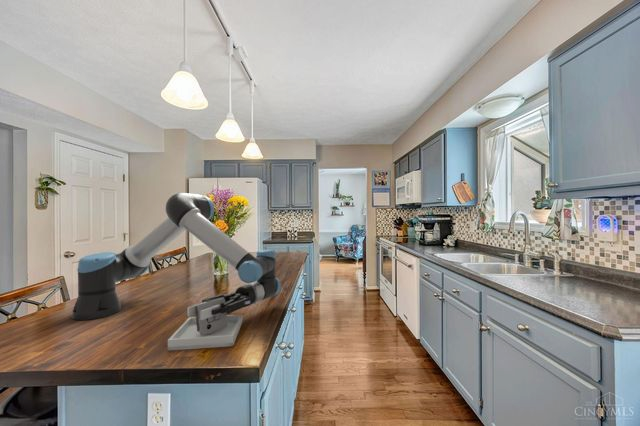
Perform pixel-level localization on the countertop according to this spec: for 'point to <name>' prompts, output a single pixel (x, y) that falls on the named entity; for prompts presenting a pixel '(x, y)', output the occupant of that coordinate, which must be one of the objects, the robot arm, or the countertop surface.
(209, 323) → the electrical switch
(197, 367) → the countertop surface
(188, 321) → the white square tray
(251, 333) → the countertop surface
